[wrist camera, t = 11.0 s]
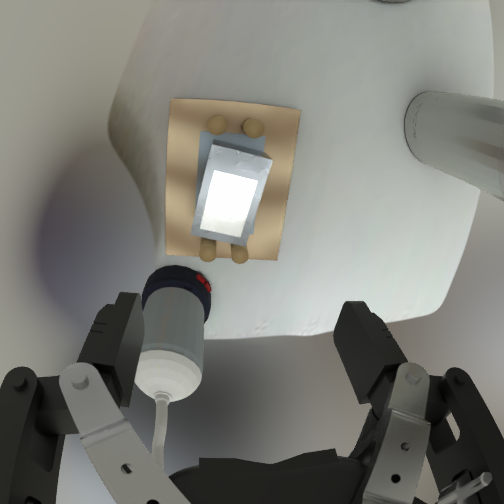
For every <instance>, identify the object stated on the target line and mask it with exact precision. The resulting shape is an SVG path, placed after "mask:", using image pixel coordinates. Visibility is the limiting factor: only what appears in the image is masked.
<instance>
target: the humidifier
mask: <svg viewBox="0 0 504 504" xmlns="http://www.w3.org/2000/svg"><path fill="white" fill-rule="evenodd" d="M210 291H211V287H210V285H209V283H208V282H207V281H206V279H205V278H204V277H203V276H201V275H200V274H199V273H198V272H196V271H194V270H192V269H190V268H188V267H183V266H177V265H173V266H165V267H163V268H160V269H158V270H156V271H155V272H154V273H153V274H151V276H149V278H148V280H147V282H146V284H145V287H144V290H143V294H142V302H141V303H142V310H143V318H144V325H145V334H144V341H143V345H142V349H141V353H140V358H139V362H138V366H137V371H136V376H135V380H134V381H135V383H136V384H137V386H138V387H139V388H140V389H141V390H142V391H143V392H144V393H145V394H147V395H148V396H150V397H152V398H153V399H155V402H156V424H155V425H156V426H155V432H154V438H153V444H152V457H153V458H154V460H155V461H156V462H157V464H158V465H159V466H160V467H161V469H162V470H163V447H164V441H165V435H166V429H167V405H168V404H169V402H173V401H177V400H180V399H183V398H185V397H187V396H189V395H190V394H192V393H193V392H194V391H195V390H196V388H197V387H198V386H199V384H200V383H201V378H202V371H203V340H204V324H205V322H206V321H207V319H208V316H209V313H210V308H211V293H210Z"/></svg>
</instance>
